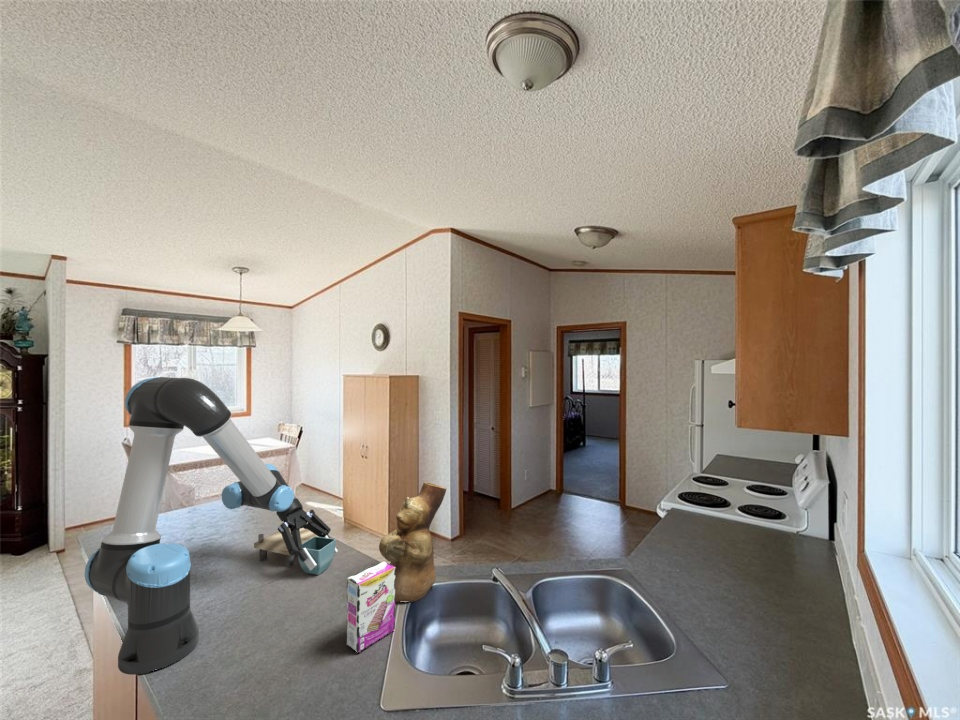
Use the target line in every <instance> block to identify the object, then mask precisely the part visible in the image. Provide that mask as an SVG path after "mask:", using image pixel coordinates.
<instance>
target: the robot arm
mask: <svg viewBox="0 0 960 720" xmlns="http://www.w3.org/2000/svg"><path fill="white" fill-rule="evenodd" d="M124 405H125V406H124V407H125V409H126V411H127V412H128V414H129V415H130V419H129V422H128V427H129V429H130V430H131V432H132V433H133V439H132V444H131V448H130V452H129V456H128V461H127V465H126V469H125V473H124V478H123V482H122V487H121V491H120V496H119V500H118V505H117V508H116V513H115V517H114V522H113V527H112V530H111V532H110V533H108V534H107V535H105V537H103V538H102V540H101V542H100V543H101V544H100V547H99V548H98V549H96V552H94V553H93V554H92V555H91V556H90V557H89V559H88V560H87V563H86V565H85V567H84V580H85V582H86V584H87V586H88V587H89V588H90V589H91V590H93V592H95V593H97V594H98V595H101V596H104V597H109V598H111V599H114V600H117V601H119V602H122V603H125V604H127V630H126V632H125V635H124V638H123V641H122V643H121V646H120V649H119V652H118V656H117V668H118V670H119V671H120V672H121V673H123V674H124V675H129V676H130V675H132V676H134V675H143V674H149V672H150V671H153V670H155V669H160V668H162V669H164V668H163V667H165V666H167V667H169V666H171V665H173V664H175V663H177V662H179V661H181V660H183V657H184V658H185V657H186V656H188V655H189V654H190V653H191V652H193V650H194V649H196V647H197V645H198V644H199V641H200V629H199V628H200V627H199V625H198V623H197V620H196V619H195V616H194V613H193V612H192V609H191V567H192V563H191V558H190V552H189V550H188V548H187V547H185V546H184V545H182V544H181V543H175V542H169V543H164V542H161V537H162V535H161V534H160V533H159V532H158V531H157V529H156V527H157V524H158V519H159V513H160V509H161V504H162V499H163V495H164V490H165V485H166V481H167V477H168V472H169V471H168V470H169V466H170V462H171V457H172V451H173V447H174V442H175V438H176V436H177V435H179V433H181V432H182V431H184V427H186V428H187V429H189V430H190V432H192V433H193V435H194V436H196V437H198V438H201V437H202V438H203V439H204V440H205V441H206V443H208V445H209V446H210V447H211V448H212V450H213V451H214V452H215V454H217V455H218V457H219V458H220V459H221V460H222V461H223V463H224V464H225V465H226V466H227V467H228V468H229V470H230V471H232V473H233V475H234V476H235V477H236V478H237V479H238V480H239V481H235V482H234V481H233V483H230V484H228V485H226V486H225V487H224V488H223V489H222V492H221V501H222V504H223V505H224V506H225V508H226V509H228V510H235V509H237V508H238V509H239V508H241V507H243V506H246V507H250V508H257V509H261V510H265V511H266V510H267V511H270V512H276V513H275V514H276V516H277V517H278V519H279V520H280V521H281V522H282V523H280V525H279V526H278V527H277V532H278V531H279V532H280V533H281V534H282V537H283V540H284V542H285V545H286V547H287V550H288V552H289V554H290V555H292V554H294V557H295V556H297V557H298V556H299V558H300V559H301V561H302V562H305V564H306V565H307V567H308V568H309V570H310V571H311V570H312V569H313V568H314V567H315V566H316V565H317V564H316V563H315V561H314V560H313V558H312V557H311V555H310V554H309V552H308V551H307V549H306V548H303V550H302V542H301V537H300V531H299V530H300V529H301V528H304V529H308V530H309V531H311V532H313V533H314V534H316V535H317V536H319V537H324V538H331V537H330V536H329V534H330V532H331V528H330V527H329V526H328V525H327V524H326V523H325V521H323V520H322V519H321V518H320V517H319V515H317V514H316V512H315V511H314V509H311V510H309V511H307V512H306V511H305V510H304V508H303V504H302V503H301V502H300V499H299V498H296V497H297V495H296V494H295V492H294V490H293V488H292V487H290V486H289V484H288V483H287V482H286V480H285V479H284V476H282V474H281V472H280V471H279V470H278V469H277V468H276V467H275V465H274V464H272V463H265V462H264V461H263V459H261V457H260V456H259V454H258V453H257V452H256V451H255V449H254V448H253V446H252V445H251V444H250V443H249V441H248V440H247V438H246V437H245V436H244V435H243V434H242V432H241V431H240V430H239V429H238V426H236V424H235V423H234V421H232V412H231V411H230V409H229V408H228V407H227V405H226V404H225V403H224V402H223V401H222V400H221V398H220V397H219V396H218V395H217V394H216V393H215V392H214V391H213V390H212V389H211V388H210V387H208V386H207V385H206V384H204V383H203V382H200V380H196V379H193V378H191V377H169V376H167V377H166V376H156V377H149V378H145V379H143V380H140V381H139V382H137V383H135V384H134V385H132V386H131V388H130V389H129V390H128V392H127V394H126V396H125V399H124ZM289 528H290V530H289ZM290 532H291V533H290ZM338 552H339V551H338V548H337V547H336V546H335V553H334V556H335V555H336V554H337V553H338ZM178 660H179V661H178ZM176 661H177V662H176ZM174 662H175V663H174ZM172 663H173V664H172ZM170 664H171V665H170ZM168 665H169V666H168ZM165 668H166V667H165ZM160 670H161V669H160ZM153 672H154V671H153ZM150 673H151V672H150Z"/></svg>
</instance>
